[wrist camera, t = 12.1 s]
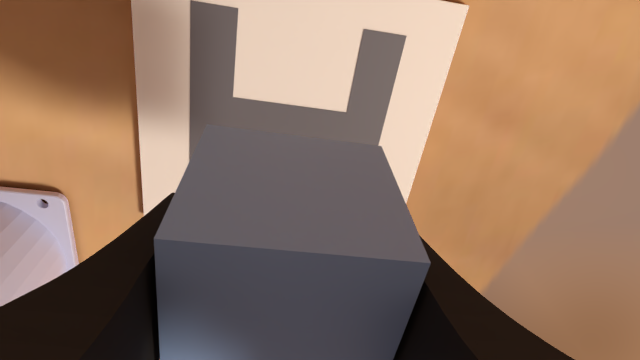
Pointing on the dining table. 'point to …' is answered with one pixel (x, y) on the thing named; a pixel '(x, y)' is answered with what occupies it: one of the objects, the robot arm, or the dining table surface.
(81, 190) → the dining table surface
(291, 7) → the letter card
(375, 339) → the blue cube
